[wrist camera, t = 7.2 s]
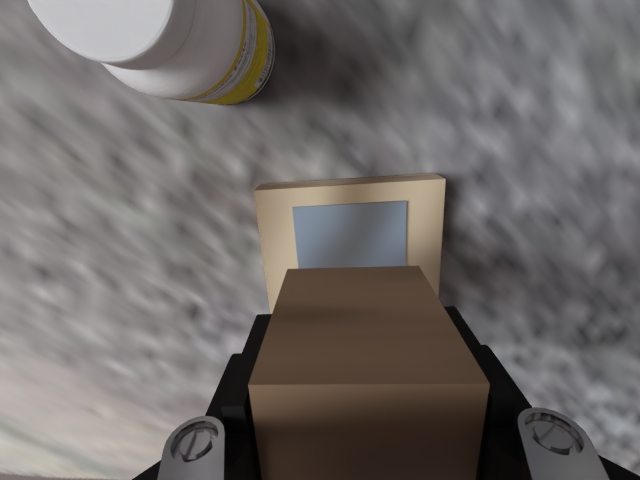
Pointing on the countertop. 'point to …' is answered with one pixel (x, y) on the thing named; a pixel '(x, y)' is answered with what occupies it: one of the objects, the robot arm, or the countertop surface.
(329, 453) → the walnut block
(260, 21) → the supplement bottle
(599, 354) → the countertop surface
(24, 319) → the countertop surface
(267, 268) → the board
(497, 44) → the countertop surface
